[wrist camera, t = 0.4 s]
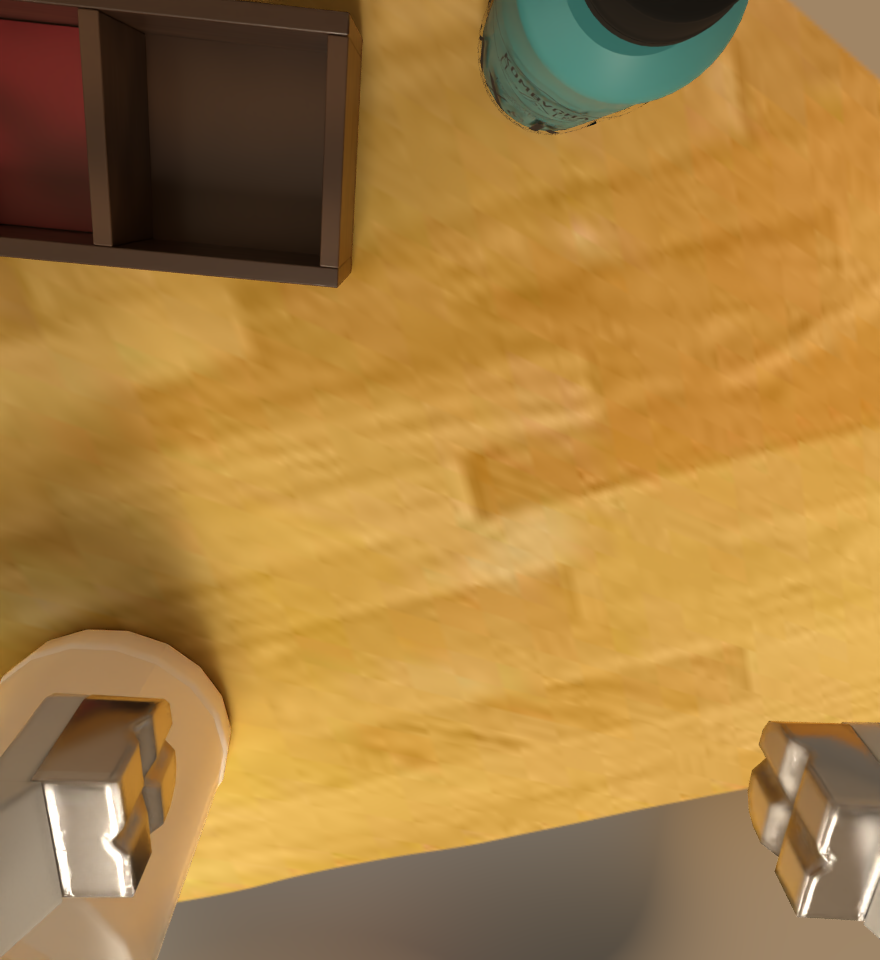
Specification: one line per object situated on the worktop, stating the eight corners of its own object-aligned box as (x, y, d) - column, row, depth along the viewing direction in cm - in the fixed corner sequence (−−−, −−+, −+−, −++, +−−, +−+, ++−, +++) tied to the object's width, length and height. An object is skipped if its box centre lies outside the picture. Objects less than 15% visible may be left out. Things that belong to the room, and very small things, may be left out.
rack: (-88, -11, 33) (-187, -47, 28) (362, 38, 34) (349, 11, 28) (-55, 235, 37) (-137, 243, 31) (351, 273, 37) (337, 288, 32)
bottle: (59, 582, 43) (-505, 1186, 17) (275, 691, 46) (71, 1351, 20) (-29, 750, 48) (-590, 1439, 21) (173, 840, 50) (-105, 1547, 24)
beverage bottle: (501, -50, 33) (592, -361, 14) (646, 3, 33) (916, -225, 15) (456, 113, 35) (482, 33, 16) (592, 158, 36) (768, 133, 17)
